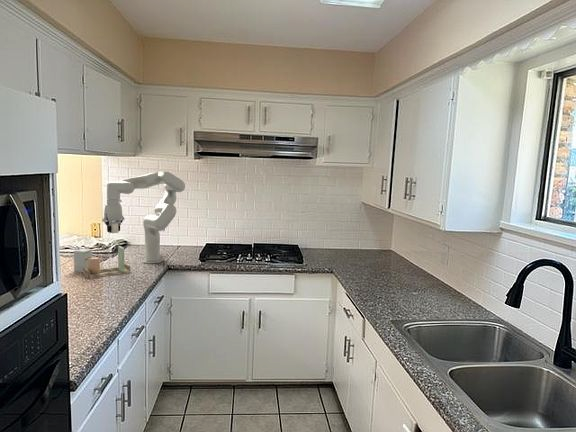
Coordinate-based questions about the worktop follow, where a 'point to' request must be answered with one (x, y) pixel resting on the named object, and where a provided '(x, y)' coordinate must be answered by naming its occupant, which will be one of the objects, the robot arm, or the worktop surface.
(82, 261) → the supplement box
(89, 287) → the worktop surface
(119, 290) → the worktop surface
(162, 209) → the robot arm
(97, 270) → the ball
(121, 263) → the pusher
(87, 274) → the lane
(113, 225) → the cream jar
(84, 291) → the worktop surface
